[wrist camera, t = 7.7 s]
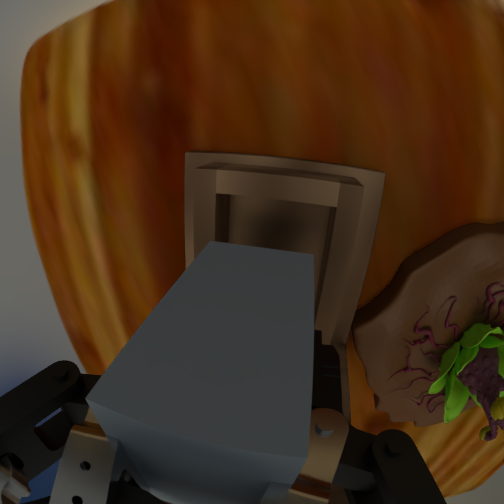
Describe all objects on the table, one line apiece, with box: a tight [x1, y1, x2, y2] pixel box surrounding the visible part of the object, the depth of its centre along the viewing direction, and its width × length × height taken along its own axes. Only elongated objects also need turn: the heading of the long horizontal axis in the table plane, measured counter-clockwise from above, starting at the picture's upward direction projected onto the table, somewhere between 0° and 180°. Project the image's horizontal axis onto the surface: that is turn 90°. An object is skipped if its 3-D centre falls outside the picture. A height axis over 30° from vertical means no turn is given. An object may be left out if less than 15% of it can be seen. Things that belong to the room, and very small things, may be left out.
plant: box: [352, 222, 504, 441], centre depth 14 cm, size 20×20×11 cm
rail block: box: [85, 241, 314, 504], centre depth 9 cm, size 4×7×8 cm, turn 176°
